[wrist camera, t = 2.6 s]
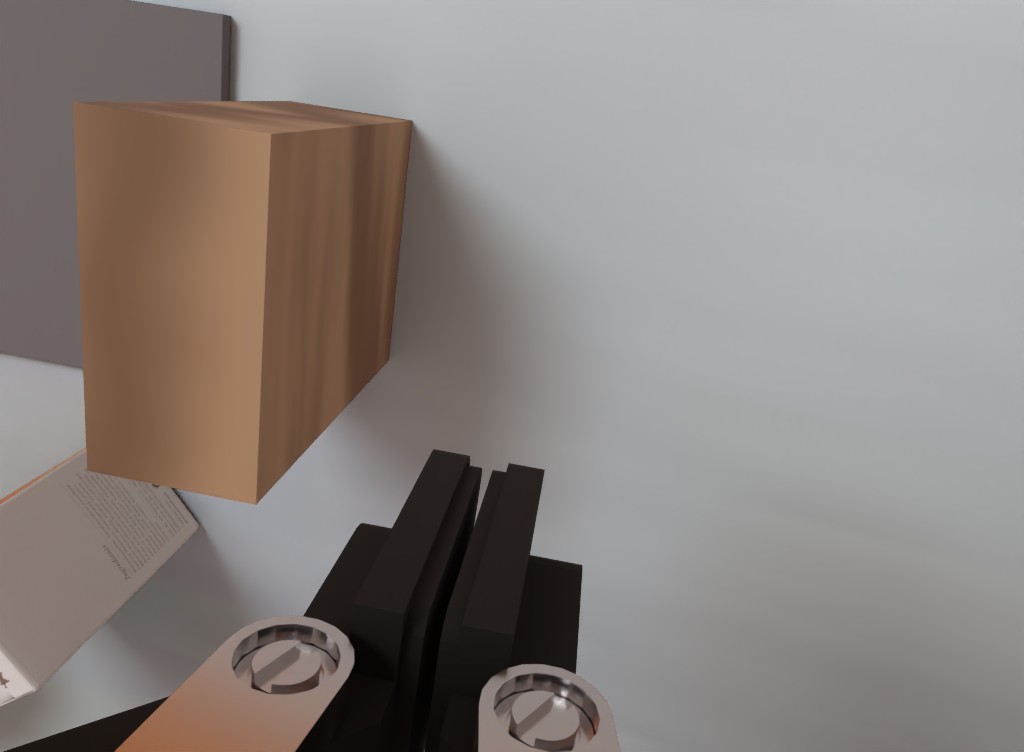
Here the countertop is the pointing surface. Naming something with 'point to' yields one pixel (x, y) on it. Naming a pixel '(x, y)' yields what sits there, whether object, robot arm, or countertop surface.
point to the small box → (75, 562)
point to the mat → (50, 137)
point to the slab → (231, 282)
